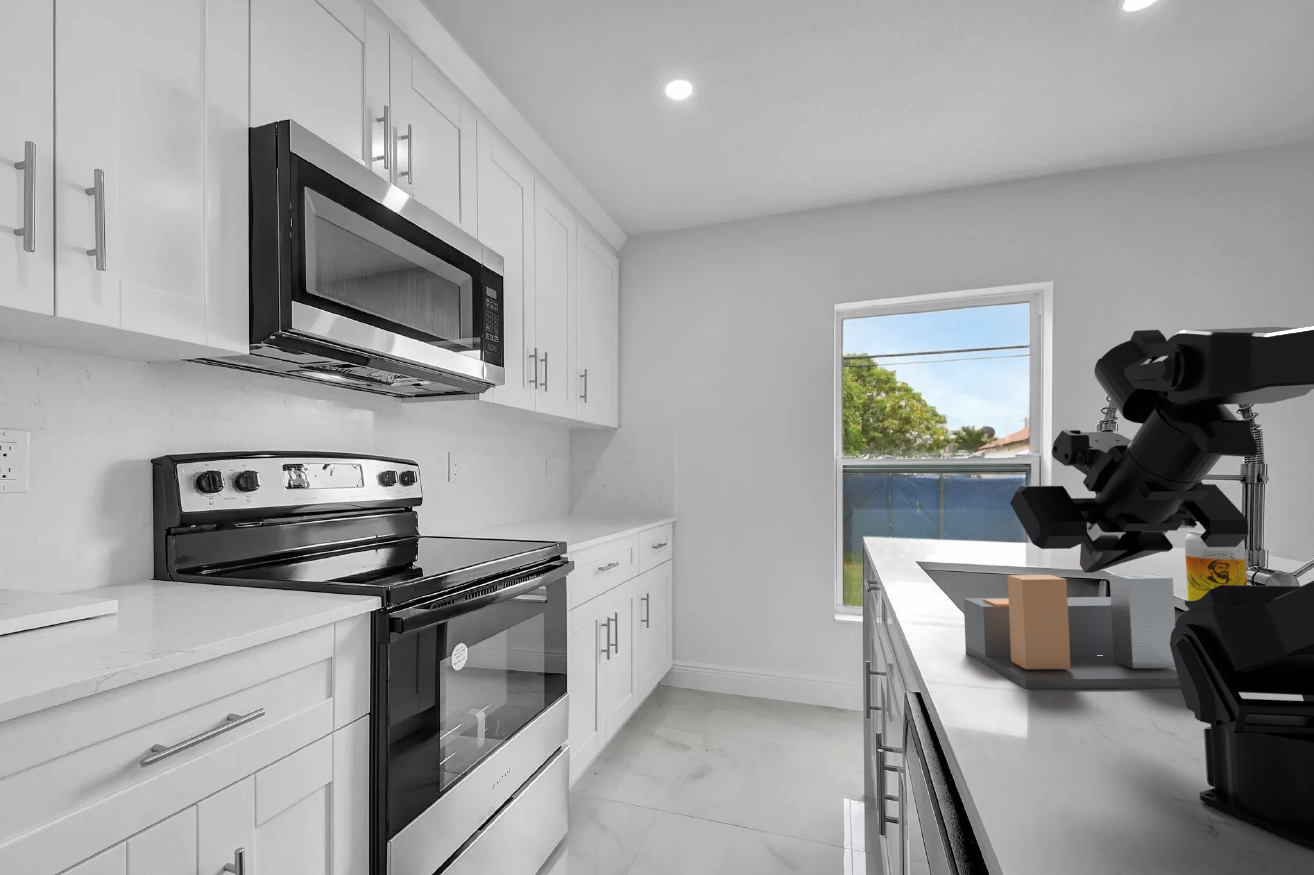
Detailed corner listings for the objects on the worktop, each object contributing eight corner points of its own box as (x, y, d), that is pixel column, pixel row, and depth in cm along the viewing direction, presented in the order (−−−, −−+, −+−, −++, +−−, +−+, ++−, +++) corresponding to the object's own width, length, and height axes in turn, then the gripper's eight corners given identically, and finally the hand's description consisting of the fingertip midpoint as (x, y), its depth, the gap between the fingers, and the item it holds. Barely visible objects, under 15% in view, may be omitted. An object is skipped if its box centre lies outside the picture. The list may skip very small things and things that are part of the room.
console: (1211, 687, 68) (1207, 618, 68) (1026, 688, 68) (1023, 620, 68) (1120, 651, 81) (1117, 594, 82) (965, 652, 81) (963, 595, 82)
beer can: (1197, 646, 83) (1191, 533, 84) (1184, 635, 88) (1178, 529, 89) (1258, 652, 80) (1251, 534, 81) (1241, 640, 85) (1234, 530, 86)
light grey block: (1177, 667, 70) (1172, 578, 71) (1132, 668, 70) (1128, 578, 71) (1156, 659, 73) (1152, 573, 74) (1113, 660, 73) (1109, 574, 74)
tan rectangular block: (1070, 668, 70) (1066, 579, 71) (1025, 669, 70) (1022, 579, 71) (1053, 660, 73) (1050, 574, 74) (1011, 661, 73) (1007, 575, 74)
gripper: (1213, 399, 59) (1132, 508, 70) (1016, 401, 60) (965, 510, 70) (1304, 483, 51) (1196, 593, 62) (1074, 486, 51) (1006, 595, 62)
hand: (1085, 568), depth 64 cm, fingers closed
